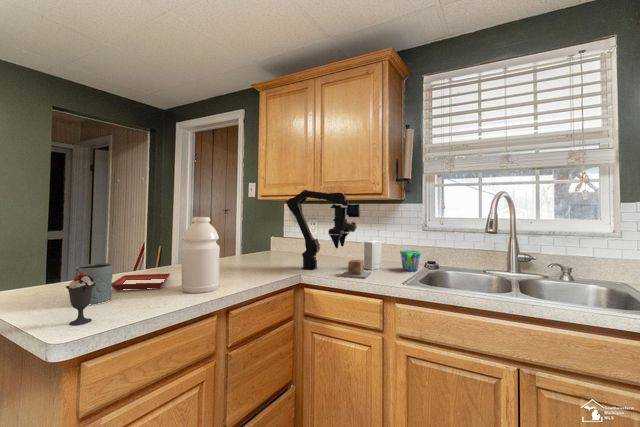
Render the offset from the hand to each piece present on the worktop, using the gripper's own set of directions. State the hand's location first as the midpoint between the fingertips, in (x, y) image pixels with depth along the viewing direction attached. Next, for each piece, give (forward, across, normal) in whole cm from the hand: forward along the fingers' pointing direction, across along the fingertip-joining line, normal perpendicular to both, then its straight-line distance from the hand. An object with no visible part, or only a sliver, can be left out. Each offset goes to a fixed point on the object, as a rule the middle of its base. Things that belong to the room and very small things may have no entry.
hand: (339, 247), depth 162 cm
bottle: (+12, -58, +38) cm, 70 cm away
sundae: (+12, -99, +42) cm, 108 cm away
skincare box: (+12, +12, -15) cm, 23 cm away
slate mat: (+12, -8, -11) cm, 18 cm away
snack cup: (+12, +16, -34) cm, 40 cm away
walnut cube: (+11, -8, -11) cm, 18 cm away
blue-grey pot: (+12, -85, +58) cm, 104 cm away
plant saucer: (+13, -63, +63) cm, 90 cm away
